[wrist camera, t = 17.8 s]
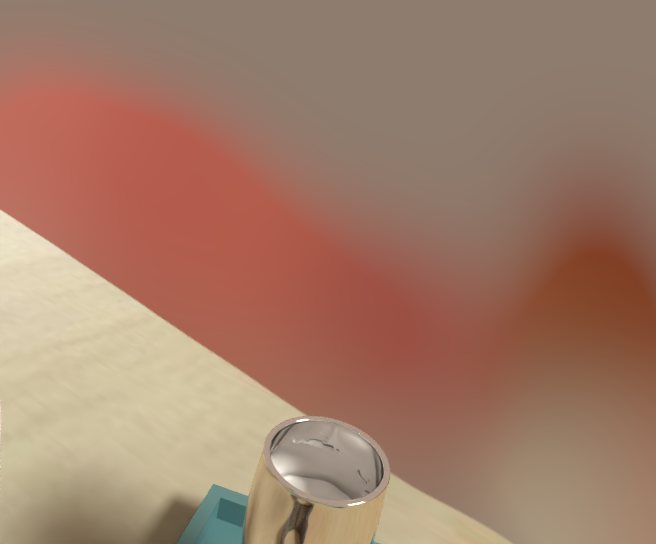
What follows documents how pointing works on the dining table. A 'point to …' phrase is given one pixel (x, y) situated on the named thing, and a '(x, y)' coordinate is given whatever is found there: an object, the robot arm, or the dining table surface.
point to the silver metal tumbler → (316, 485)
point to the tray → (217, 519)
